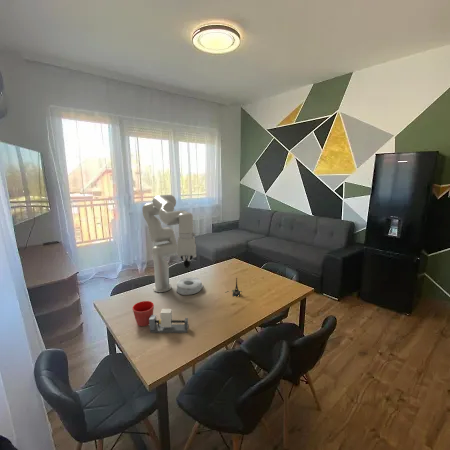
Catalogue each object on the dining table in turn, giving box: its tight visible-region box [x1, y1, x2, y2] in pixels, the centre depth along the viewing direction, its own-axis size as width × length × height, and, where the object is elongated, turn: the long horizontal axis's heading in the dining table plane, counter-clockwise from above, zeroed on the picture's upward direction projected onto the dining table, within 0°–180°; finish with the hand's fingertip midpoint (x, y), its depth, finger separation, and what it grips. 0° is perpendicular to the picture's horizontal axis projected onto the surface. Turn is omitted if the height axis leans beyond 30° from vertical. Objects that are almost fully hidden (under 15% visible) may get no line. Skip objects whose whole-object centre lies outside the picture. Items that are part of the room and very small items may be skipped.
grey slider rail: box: [148, 314, 190, 334], centre depth 126 cm, size 19×6×7 cm, turn 90°
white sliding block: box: [159, 308, 173, 327], centre depth 125 cm, size 5×4×8 cm
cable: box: [176, 276, 204, 296], centre depth 169 cm, size 18×18×6 cm
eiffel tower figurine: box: [224, 277, 242, 298], centre depth 161 cm, size 15×10×13 cm
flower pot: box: [132, 300, 155, 327], centre depth 131 cm, size 11×11×10 cm
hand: (187, 266), depth 138 cm, fingers closed
